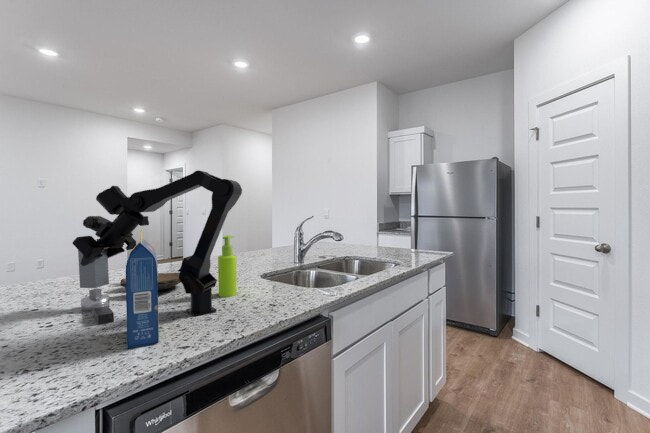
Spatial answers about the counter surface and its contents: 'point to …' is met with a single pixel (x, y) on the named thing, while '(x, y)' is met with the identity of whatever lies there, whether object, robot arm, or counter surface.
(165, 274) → the notched wooden ornament
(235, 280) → the soap dispenser
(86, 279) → the grey orange-striped post
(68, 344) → the counter surface
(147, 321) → the blue food package
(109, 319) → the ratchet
